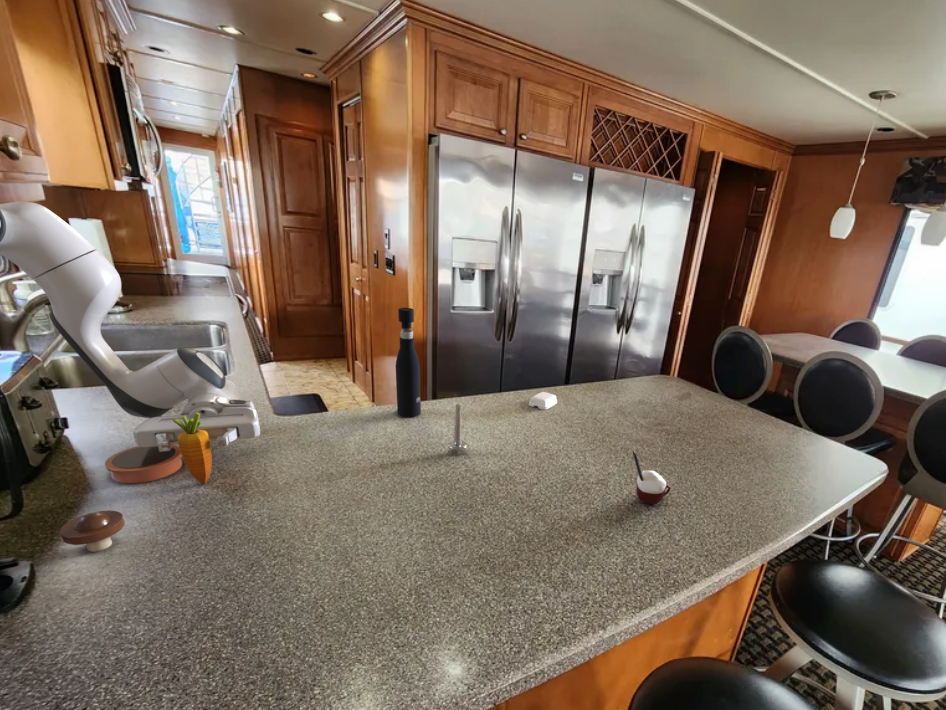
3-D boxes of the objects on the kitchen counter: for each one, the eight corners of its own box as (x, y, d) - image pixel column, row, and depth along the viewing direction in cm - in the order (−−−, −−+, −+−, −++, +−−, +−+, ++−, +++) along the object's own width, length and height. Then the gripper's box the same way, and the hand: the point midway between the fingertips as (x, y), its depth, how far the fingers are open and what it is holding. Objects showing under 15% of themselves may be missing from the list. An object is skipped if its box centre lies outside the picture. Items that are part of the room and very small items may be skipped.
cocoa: (667, 496, 103) (678, 449, 99) (667, 512, 98) (678, 462, 93) (626, 488, 105) (634, 441, 100) (623, 502, 99) (632, 453, 95)
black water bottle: (397, 409, 134) (393, 306, 123) (420, 408, 136) (418, 307, 125) (397, 418, 129) (392, 310, 117) (421, 417, 130) (418, 311, 119)
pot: (92, 476, 90) (88, 462, 88) (155, 451, 100) (152, 438, 99) (139, 489, 87) (135, 475, 86) (199, 462, 98) (196, 449, 97)
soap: (540, 397, 155) (541, 389, 154) (558, 402, 152) (559, 394, 151) (526, 405, 147) (527, 396, 146) (545, 410, 144) (546, 401, 143)
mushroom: (56, 554, 71) (43, 522, 68) (108, 528, 77) (98, 498, 75) (91, 565, 69) (79, 533, 67) (140, 538, 75) (131, 507, 73)
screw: (462, 458, 111) (444, 454, 112) (470, 450, 115) (452, 446, 116) (463, 408, 106) (444, 405, 107) (471, 402, 110) (453, 398, 111)
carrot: (183, 490, 88) (165, 420, 83) (194, 477, 93) (178, 409, 87) (213, 489, 90) (197, 419, 84) (223, 476, 94) (209, 409, 88)
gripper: (142, 407, 93) (117, 435, 81) (260, 400, 101) (253, 425, 90) (149, 435, 95) (126, 466, 84) (264, 426, 104) (258, 453, 93)
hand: (193, 445), depth 87 cm, fingers open, 8 cm apart
